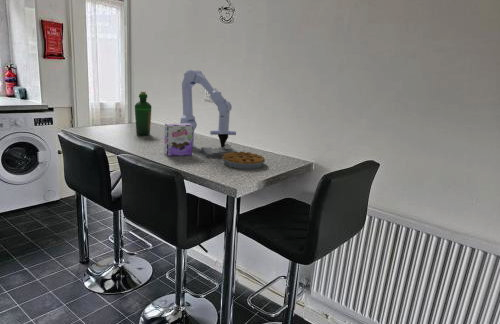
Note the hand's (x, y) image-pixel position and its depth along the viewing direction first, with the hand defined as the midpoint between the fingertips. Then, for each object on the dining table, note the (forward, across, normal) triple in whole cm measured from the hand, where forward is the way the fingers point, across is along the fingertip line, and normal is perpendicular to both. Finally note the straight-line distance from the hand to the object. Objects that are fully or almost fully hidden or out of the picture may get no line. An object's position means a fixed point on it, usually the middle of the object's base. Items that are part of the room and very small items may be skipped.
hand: (222, 147), depth 194 cm
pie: (+3, +5, -25) cm, 26 cm away
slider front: (+1, -6, -9) cm, 11 cm away
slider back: (+1, +3, 0) cm, 3 cm away
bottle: (+3, -41, +49) cm, 64 cm away
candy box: (+3, -25, -5) cm, 26 cm away
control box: (+3, -2, -4) cm, 6 cm away
